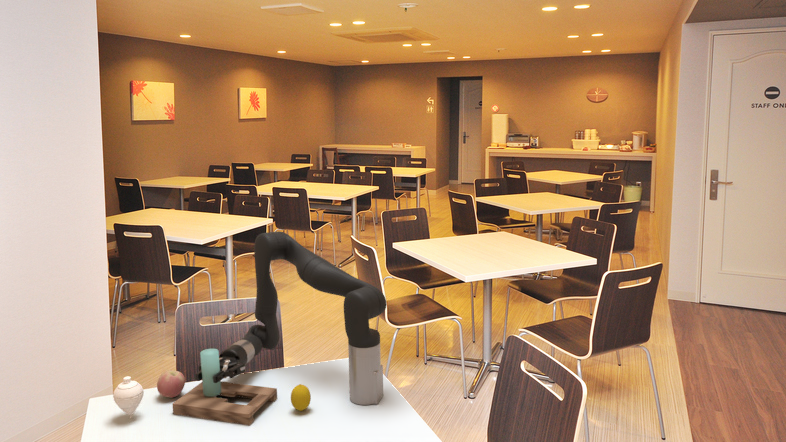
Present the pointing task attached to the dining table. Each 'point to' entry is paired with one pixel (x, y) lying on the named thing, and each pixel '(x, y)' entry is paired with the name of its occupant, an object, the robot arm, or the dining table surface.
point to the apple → (170, 383)
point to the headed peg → (210, 372)
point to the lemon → (300, 397)
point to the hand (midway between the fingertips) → (206, 378)
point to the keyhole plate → (224, 403)
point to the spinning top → (128, 395)
